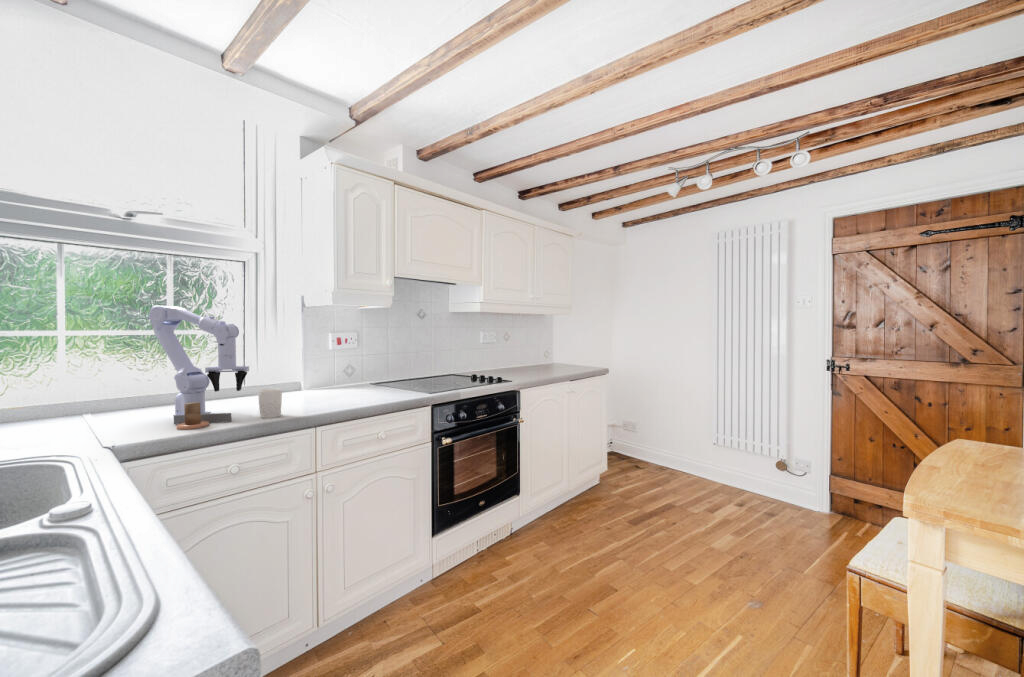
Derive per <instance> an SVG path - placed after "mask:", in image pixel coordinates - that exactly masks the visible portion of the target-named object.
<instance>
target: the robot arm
mask: <svg viewBox="0 0 1024 677" xmlns="http://www.w3.org/2000/svg"><path fill="white" fill-rule="evenodd" d="M147 318H148V320H149V321H150V322H151V324H152V328H153V332H154V335H155V337H156V338H157V340H158V342H159V343H160V345H161V347H162V348H163V350H164V352H165V354H166V355H167V357H168V358H169V359H168V360H170V362H171V364H172V365H173V367H174V369H175V370H176V374H175V375H174V377H173V379H174V381H175V385H176V388H177V390H178V391H179V393H178V394H177V395H176V396H175V398H174V399H175V400H174V409H175V410H174V411H175V414H172V416H173V417H174V415H185V410H184V404H185V403H191V402H200V407H201V414H212V411H206V391H207V388H208V387H209V385H210V382H211V384H212V387H213V390H214V392H219V391H220V379H221V378H220V376H221V373H234V376H235V383H236V392H239V391H242V386H243V383H244V380H245V378H246V377H247V374H248V372H250V366H249V365H247V366H245V365H244V366H242V365H241V366H238V365H237V349H236V347H237V346H236V345H237V344H236V343H237V342H236V340H237V339H236V338H238V336H239V335H240V334H239V333H240V330H239V327H238V326H237V325H235V324H233V323H229V324H227V323H226V321H224V320H219V319H217V318H216V317H215V316H213V315H209V316H208V315H207V316H204V317H203V316H201V315H199V314H197V313H195V312H192V311H190V310H188V309H186V308H184V307H180V306H179V305H178V306H172V305H171V306H169V305H158V304H157V305H154V306H152V307H151V308H150V310H149V314H148V315H147ZM182 321H186V322H188V323H191V324H193V325H197V326H198V328H199V329H200V330H201V331H203V332H206V333H208V334H211V335H213V336H214V337H215V339H216V343H217V355H218V356H217V357H218V358H217V359H218V360H217V361H218V362H217V363H218V365H217V366H211V367H210V366H207V367H204V369H205V370H204V371H205V372H203V370H202V369H201V368H199V367H197V366H194V364H193V362H192V361H191V359H190V357H189V356H188V354H187V352H186V351H185V349H184V347H183V346H182V344H181V342H180V341H179V339H178V337H177V336H176V334H175V333H174V332H175V330H177V328H178V327H179V325H180V324H181V322H182Z"/></svg>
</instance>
